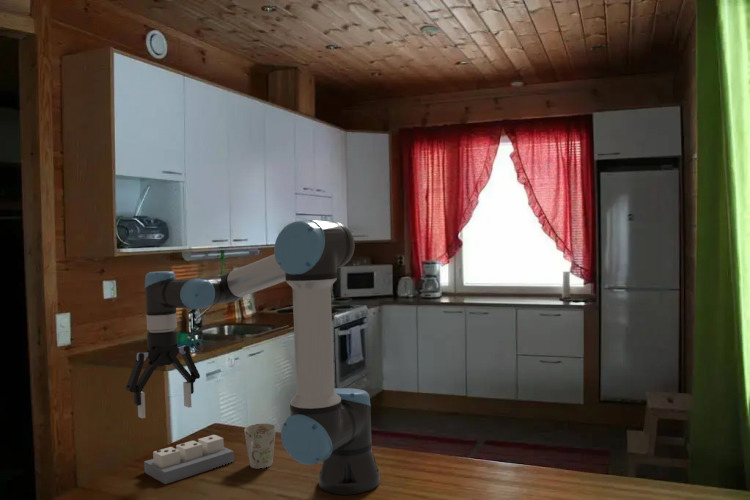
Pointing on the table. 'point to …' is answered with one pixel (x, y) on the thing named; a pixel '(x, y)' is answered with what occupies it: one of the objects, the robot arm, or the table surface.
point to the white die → (190, 450)
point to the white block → (211, 444)
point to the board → (189, 466)
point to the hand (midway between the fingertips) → (165, 411)
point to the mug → (260, 444)
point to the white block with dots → (166, 457)
